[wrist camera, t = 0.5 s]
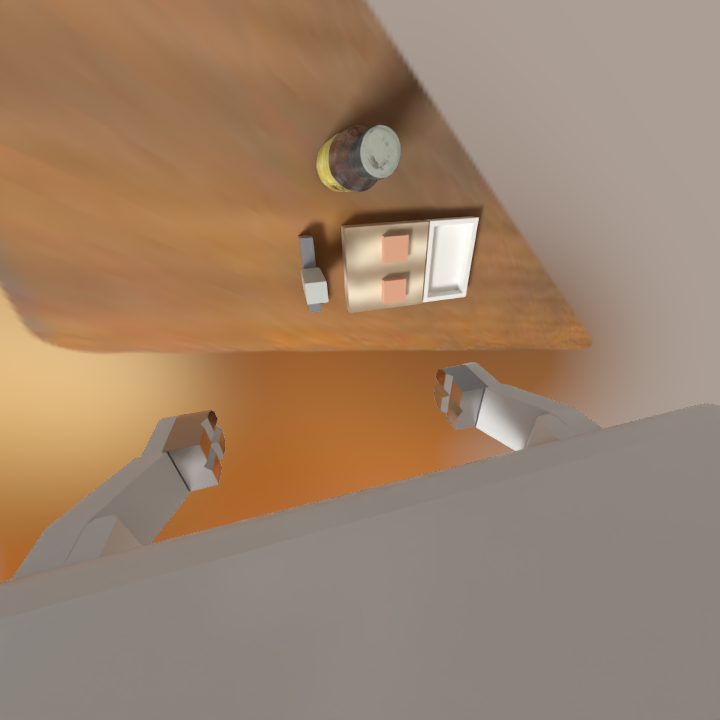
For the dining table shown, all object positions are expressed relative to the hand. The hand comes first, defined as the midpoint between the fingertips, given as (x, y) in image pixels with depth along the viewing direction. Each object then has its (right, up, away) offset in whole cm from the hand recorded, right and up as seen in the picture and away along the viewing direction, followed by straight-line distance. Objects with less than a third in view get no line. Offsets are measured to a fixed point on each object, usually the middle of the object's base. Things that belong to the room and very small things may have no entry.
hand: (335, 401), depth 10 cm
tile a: (+6, +20, +37) cm, 42 cm away
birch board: (+5, +19, +41) cm, 45 cm away
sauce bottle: (-2, +30, +32) cm, 44 cm away
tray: (+17, +20, +43) cm, 50 cm away
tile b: (+7, +14, +40) cm, 43 cm away
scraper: (-8, +17, +38) cm, 43 cm away
